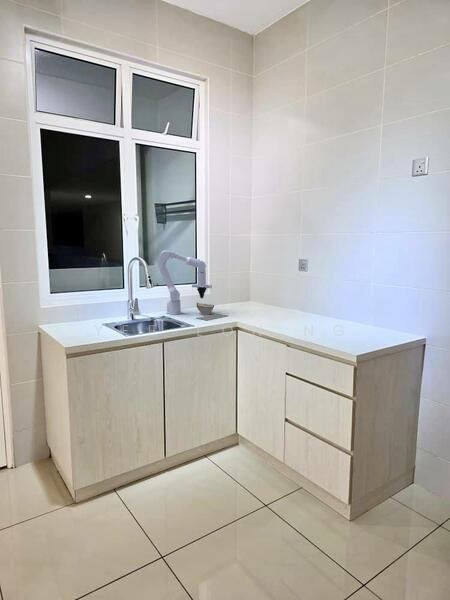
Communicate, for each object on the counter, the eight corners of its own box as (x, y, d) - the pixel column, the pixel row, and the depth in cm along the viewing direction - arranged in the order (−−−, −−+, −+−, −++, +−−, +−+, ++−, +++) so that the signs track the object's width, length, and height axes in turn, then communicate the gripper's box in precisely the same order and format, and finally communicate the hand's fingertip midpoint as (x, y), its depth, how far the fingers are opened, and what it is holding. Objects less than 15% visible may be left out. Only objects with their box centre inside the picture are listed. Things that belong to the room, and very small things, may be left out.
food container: (213, 317, 265) (212, 312, 275) (214, 309, 264) (214, 304, 273) (195, 315, 264) (195, 310, 273) (196, 306, 262) (196, 302, 272)
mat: (196, 318, 253) (196, 318, 253) (217, 314, 267) (217, 313, 267) (206, 320, 246) (206, 320, 246) (228, 316, 260) (228, 315, 260)
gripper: (189, 278, 268) (189, 298, 270) (208, 279, 262) (208, 299, 264) (194, 277, 274) (194, 296, 276) (213, 278, 268) (213, 298, 270)
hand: (201, 298), depth 270 cm, fingers closed
